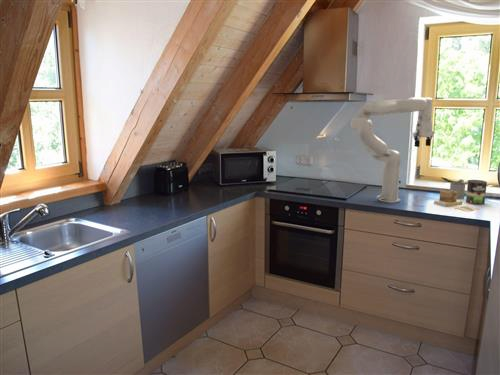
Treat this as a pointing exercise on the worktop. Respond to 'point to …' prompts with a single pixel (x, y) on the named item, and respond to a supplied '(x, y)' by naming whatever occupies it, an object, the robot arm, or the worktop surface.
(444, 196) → the crate
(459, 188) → the cup
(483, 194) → the coffee can
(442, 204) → the block
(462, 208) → the pallet
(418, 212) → the worktop surface
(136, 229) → the worktop surface
